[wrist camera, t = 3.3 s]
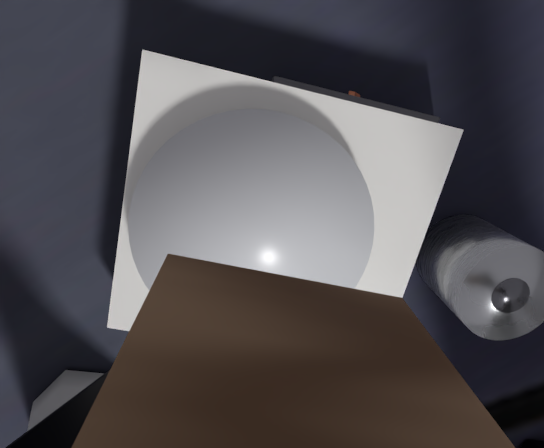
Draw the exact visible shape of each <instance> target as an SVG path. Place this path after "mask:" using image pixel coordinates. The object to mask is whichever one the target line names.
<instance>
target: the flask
mask: <svg viewBox="0 0 544 448" xmlns="http://www.w3.org/2000/svg"><path fill="white" fill-rule="evenodd" d="M103 374H105V373H94V372H83V371H71V370H65V371H64V372H63V373H62V374H61V375H60V376H59V377H58V378H57V379H56V380H55V381H54V382H53V383H52V384H51V385H50V386H49V387H48V388H47V389H46V390H45V391H44V392H43V393H42V394H41V395H40V396H39V397H38V398H36V399H35V400H34V401H33V405H32V410H31V414H30V419H29V425H28V430H30V429H31V428H32V427H34V426H35V425H36V424H38V423H39V422H40V421H42V420H43V419H44V418H46V417H47V416H48V415H50V414H51V413H52V412H54V411H55V410H56V409H58V408H59V407H60V406H62V405H63V404H64V403H66V402H67V401H69V400H70V399H71V398H73V397H74V396H75V395H77V394H78V393H79V392H81V391H82V390H83V389H85V388H86V387H87V386H89V385H90V384H91V383H93V382H94V381H95V380H97V379H98V378H99V377H101V376H102V375H103Z"/></svg>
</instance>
